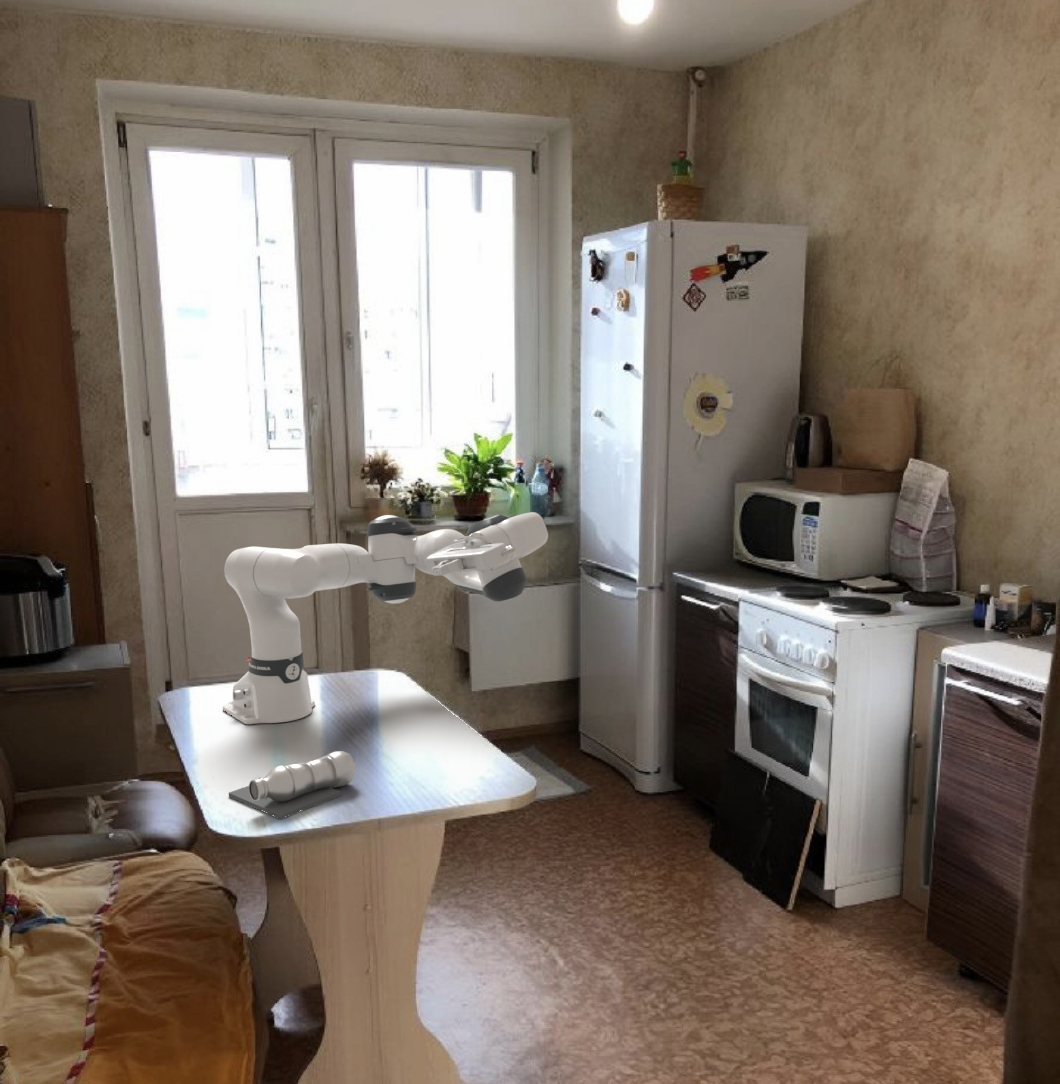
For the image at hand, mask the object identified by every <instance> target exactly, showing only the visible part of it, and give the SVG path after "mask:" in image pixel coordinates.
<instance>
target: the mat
mask: <svg viewBox="0 0 1060 1084" xmlns="http://www.w3.org/2000/svg"><path fill="white" fill-rule="evenodd" d="M341 795H342V794H341V791H339V790H336V789H334V788H333V787H329V788H324V789H318V790H314V791H311V792H308V793H305V794H302V795H300V796H298V797H296V798H294V799H291V800H289V801H286V802H278V801H275V800H272V799H270V798H268V797H267V799H265V800H258V801H254V800H253V799H252V798H251V796H250V793H249V785H246V786H244V787H241V788H238V789H236V790H233V791H229V792H228V798H230V797H231V798H230V799H233V800H235V801H237V800H239V801H240V802H239V801H238V802H239V803H242V802H243V803H242V804H244V803H245V805H246V804H247V806H249V805H250V806H249V807H251V806H252V807H251V808H253V807H255V808H257V809H256V810H258V809H259V810H258V811H260V810H263V811H265V812H267V813H268V815H269V814H270V816H271V815H274V816H275V817H274V816H273V817H274V818H276V817H278V818H279V819H278V818H277V819H278V820H283V819H285V818H286V817H285V816H288V815H291V816H293V815H296V814H298V813H300V812H299V811H300V810H303V811H306V810H308V809H311V808H313V807H316V806H318V805H322V804H323V803H326V802H329V801H331V800H334V799H337V798H339V797H340V796H341ZM255 808H254V809H255ZM305 809H306V810H305ZM265 812H264V813H265ZM297 812H298V813H297ZM267 813H266V814H267ZM295 813H296V814H295ZM292 814H293V815H292ZM284 817H285V818H284ZM288 817H289V816H288ZM282 818H283V819H282Z"/></svg>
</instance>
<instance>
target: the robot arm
mask: <svg viewBox="0 0 1060 1084" xmlns="http://www.w3.org/2000/svg"><path fill="white" fill-rule="evenodd" d="M366 530H367V532H366V537H368V542H367V543H368V544H367V545H368V548H367V550H368V551H367V550H366V549H365V548H364V547H362V546H360V545H356V544H349V543H340V542H339V543H325V544H324V543H323V544H309V545H305V546H303V547H301V548H278V547H265V546H256V545H255V546H247V547H242V548H237V549H235V550H233V551H232V552H230V554H229V555H228V556H227V558H226V560H225V563H224V566H223V567H224V568H223V569H224V570H223V572H224V578H225V580H226V582H227V583H228V585H229V586H230V587H231V588H232V589H233V590H234V591H235V593H236V594H237V596H238V597H239V600H240V602H241V603H242V606H243V609H244V612H245V614H246V618H247V621H248V625H249V633H250V635H249V636H250V643H251V645H250V646H251V656H248V657H247V656H246V659H248V660H246V663H248V668H247V672H246V673H245V674H244V675H243V676H242V677H241V678H240V679H238V681H237V682H235V684H234V685H233V687H232V701H230V702H227V703H226V704H224V705H222V711H223V710H224V712H225V711H226V712H227V713H226V712H225V713H226V714H228V715H229V716H231V715H232V716H231V717H233V718H234V719H236V720H238V721H239V722H241V723H243V724H244V725H254V724H273V723H274V724H277V723H285V722H286V723H287V722H292V721H296V720H299V719H303V718H304V717H305V718H306V717H307V716H308V715H309V716H310V714H311V713H312V712H313V707H315V705H316V704H315V700H314V699H312V697H311V690H310V684H309V677H308V672H306V671H305V670H304V668H305V657H304V652H303V651H302V639H301V623H300V620H299V618H298V616H297V615H296V613H295V612H293V610H291V608H290V606H289V605H288V603H287V601H286V599H299V598H305V597H309V596H311V595H313V594H314V593H315V592H318V591H325V590H334V589H340V588H341V589H342V588H346V587H349V586H353V585H356V584H361V583H366V584H368V586H369V587H368V588H365V590H366V592H369V591H370V592H371V594H372V595H373V596H374V597H375V598H376V599H377V600H379V601H381V602H385V603H387V604H394V605H395V604H401V603H404V602H406V601H407V600H409V599H411V598H413V597H414V596H415V595H416V592H417V581H416V569H417V570H419V571H420V572H422V573H424V574H426V575H427V574H428V575H433V576H435V577H438V576H442V577H444V578H446V579H447V580H448V581H450V582H451V583H452V584H453V585H454V586H455V587H457V588H458V589H459V590H462V591H465V592H469V593H472V594H477V595H480V596H484V597H485V598H487V599H489V600H491V601H492V602H506V601H510V600H513V599H515V598H517V597H518V596H520V595H522V594H523V591H524V590H525V588H526V584H527V582H528V577H527V575H526V573H525V571H524V568H523V567H522V564H521V562H520V559H522V558H524V557H526V556H528V555H530V554H532V553H533V552H535V551H538V549H541V547H542V546H544V545H545V544H546V543H547V541H548V540H549V539H548V538H549V531H548V528H547V525H546V523H545V520H544V518H543V517H542V516H541V515H540V514H539V513H538V512H535V511H531V512H530V511H529V512H526V513H521V514H518V515H515V516H512V517H508V516H506V515H502V514H500V513H499V514H498V513H497V514H494V515H490V516H488V517H487V518H485V519H483V520H479V521H475V522H473V523H472V524H470V526H469V528H468V529H467V532H466V533H465V535H464V534H463V533H461V532H459V530H456V529H451V528H442V529H436V530H433V531H430V532H427V533H425V534H423V535H422V534H421V535H417V534H416V531H418V528H417V527H413V526H412V524H411V523H410V521H408V520H407V519H405V518H403V517H401V516H396V515H393V514H386V515H385V514H384V515H381V516H379V517H376V518H375V519H373V520H371V521H370V522H369V523H368V526H367V529H366Z"/></svg>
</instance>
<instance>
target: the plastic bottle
mask: <svg viewBox="0 0 1060 1084" xmlns="http://www.w3.org/2000/svg"><path fill="white" fill-rule="evenodd" d="M356 771H357V770H356V764H355V760H354V759H353V757H352V756H351V754H350V753H348V752H346V751H344V750H339V751H332V752H329V753H327V754H326V755H324V756H322V757H319V758H316V759H313V760H309V761H305V762H299V763H295V764H283V765H282V764H280V765H276V766H274V767H273V768H271V769H270V770H269V771H268V773H266V774H265V776H264V777H257V778H255V779H252V780H250V781H249V783H248V786H249V793H250V796H251V798H252V799H253V800H254V801H258V800H265V799H267V797H268V798H270V799H272V800H275V801H278V802H286V801H289V800H291V799H294V798H296V797H298V796H300V795H302V794H305V793H308V792H311V791H314V790H318V789H324V788H339V787H344V786H346V785H348V784H350V783H351V782H352V781H353V780H354V779H355V776H356Z"/></svg>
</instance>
